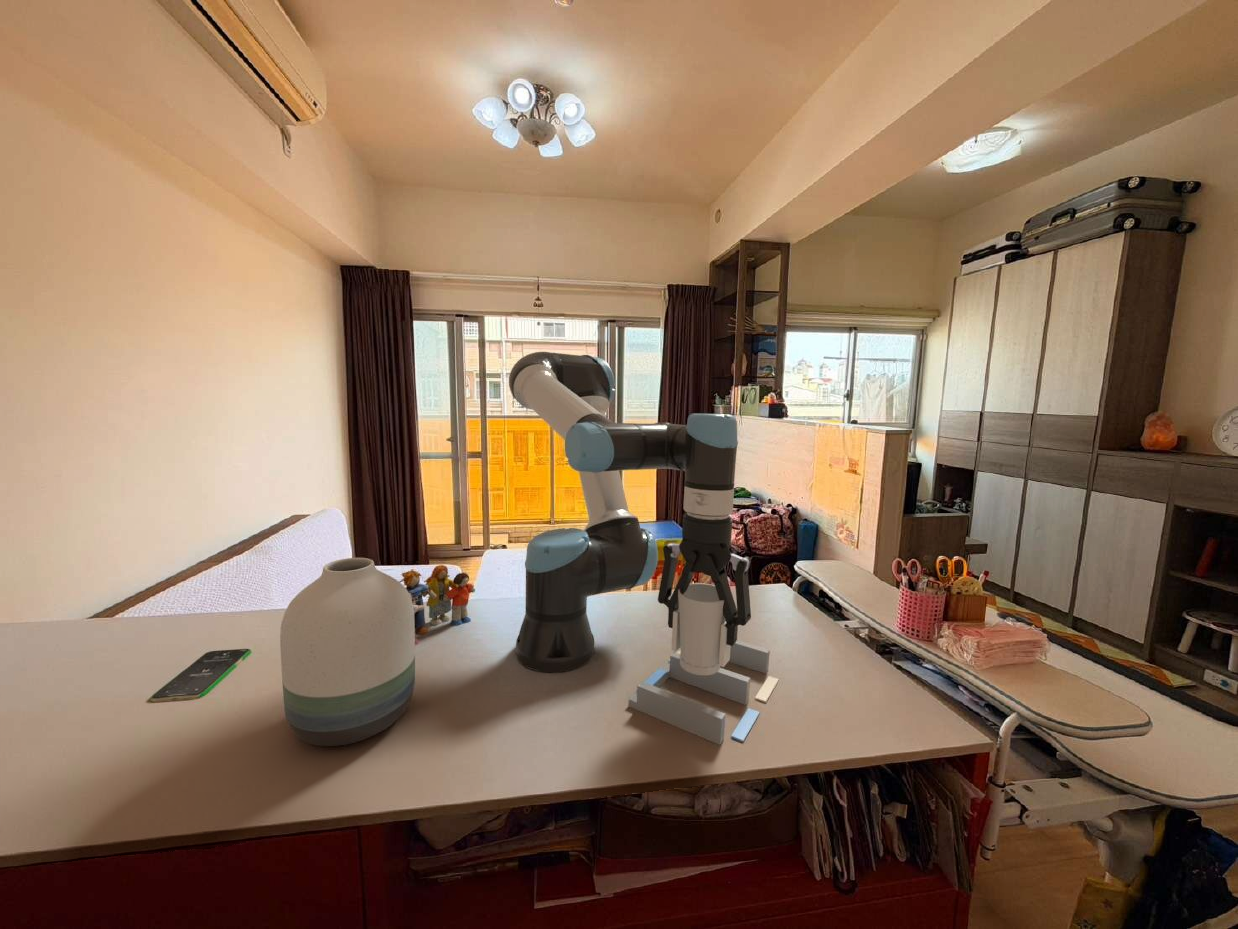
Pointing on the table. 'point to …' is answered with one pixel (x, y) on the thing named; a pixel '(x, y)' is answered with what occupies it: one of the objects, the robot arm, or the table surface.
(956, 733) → the table surface
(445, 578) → the doll family
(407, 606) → the vase
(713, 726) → the parallel grey wall panels
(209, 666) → the smartphone
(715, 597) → the cup
